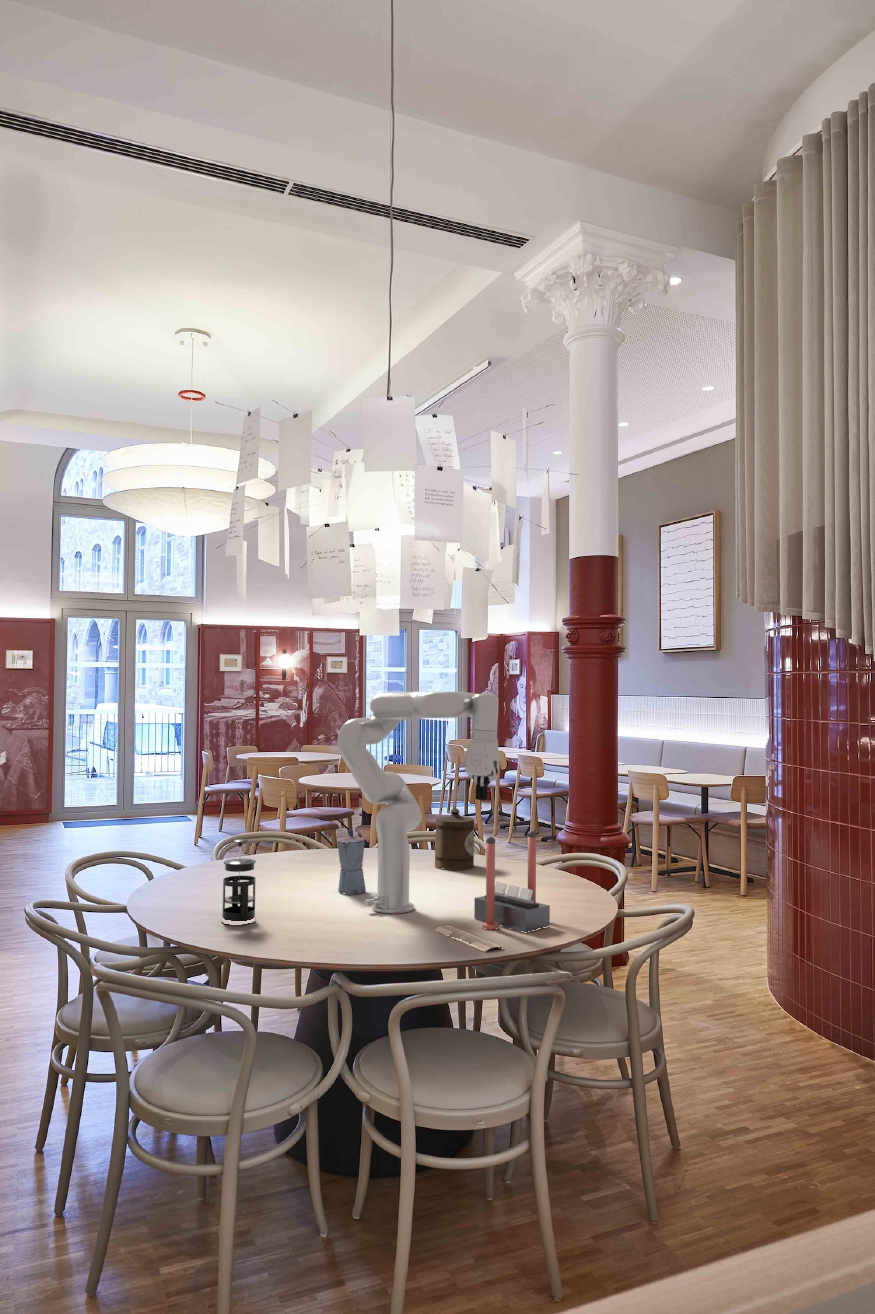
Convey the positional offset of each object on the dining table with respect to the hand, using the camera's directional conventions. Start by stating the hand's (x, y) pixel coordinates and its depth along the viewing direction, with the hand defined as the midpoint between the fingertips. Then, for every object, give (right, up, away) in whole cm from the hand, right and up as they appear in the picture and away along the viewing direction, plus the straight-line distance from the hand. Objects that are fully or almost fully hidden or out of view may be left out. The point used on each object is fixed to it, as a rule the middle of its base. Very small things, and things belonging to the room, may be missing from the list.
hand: (481, 799), depth 248 cm
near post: (+2, -34, -10) cm, 36 cm away
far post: (+15, -35, +1) cm, 38 cm away
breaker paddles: (+8, -27, -4) cm, 29 cm away
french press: (-69, -34, -6) cm, 77 cm away
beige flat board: (-5, -34, -23) cm, 41 cm away
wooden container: (-6, -39, +77) cm, 86 cm away
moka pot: (-41, -36, +33) cm, 64 cm away
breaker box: (+8, -35, -5) cm, 36 cm away
